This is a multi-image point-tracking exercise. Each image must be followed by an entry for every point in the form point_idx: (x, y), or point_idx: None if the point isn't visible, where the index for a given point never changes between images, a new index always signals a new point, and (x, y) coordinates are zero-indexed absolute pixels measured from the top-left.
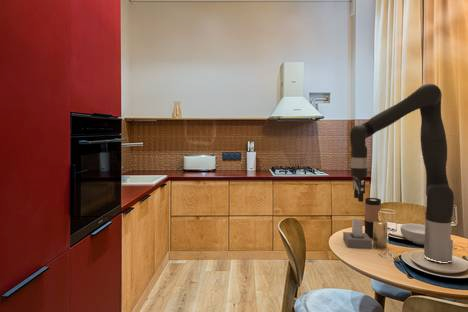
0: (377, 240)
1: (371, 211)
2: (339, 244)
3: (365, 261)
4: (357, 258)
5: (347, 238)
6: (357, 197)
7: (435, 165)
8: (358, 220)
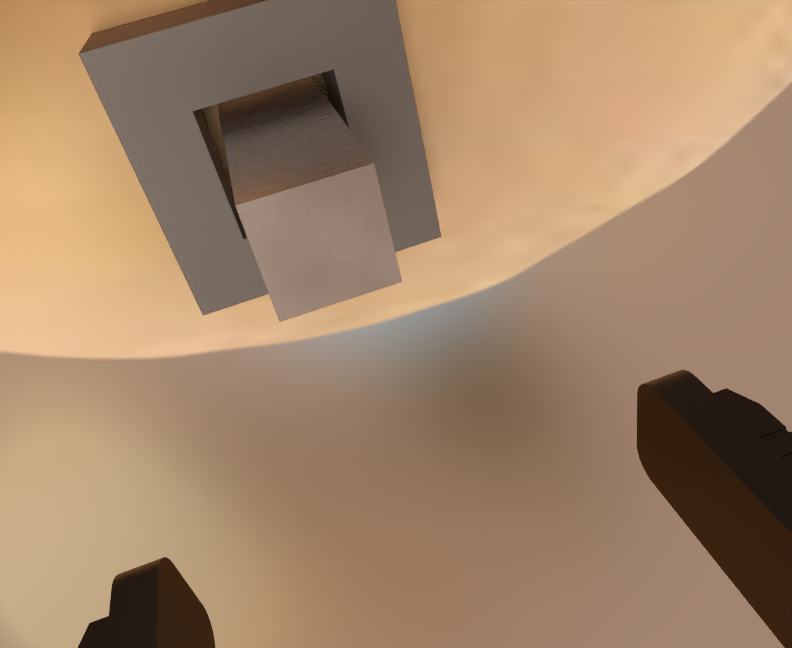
0: None
1: None
2: None
3: (693, 24)
4: (641, 94)
5: (413, 242)
6: (181, 588)
7: None
8: (327, 230)
